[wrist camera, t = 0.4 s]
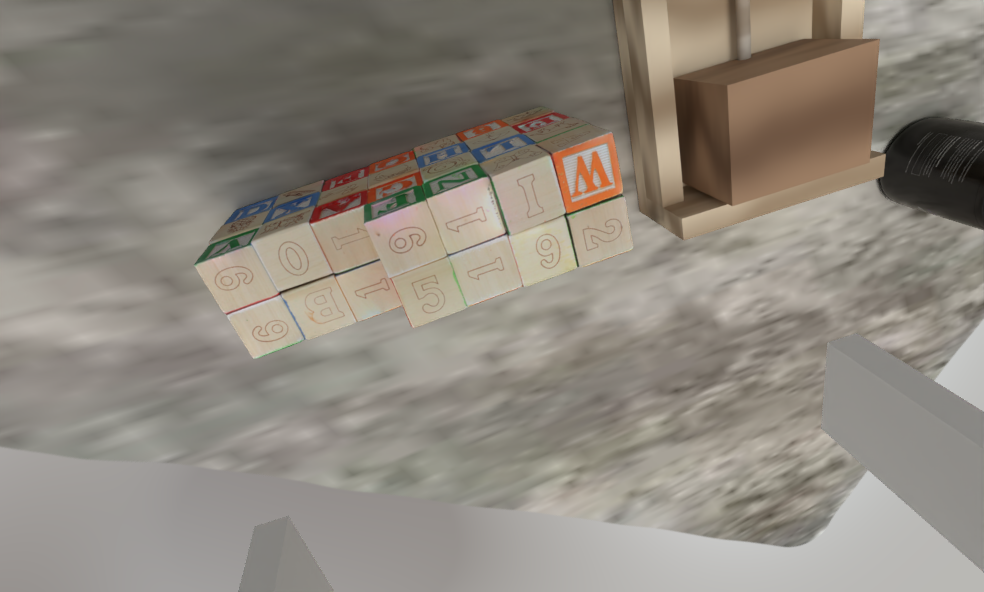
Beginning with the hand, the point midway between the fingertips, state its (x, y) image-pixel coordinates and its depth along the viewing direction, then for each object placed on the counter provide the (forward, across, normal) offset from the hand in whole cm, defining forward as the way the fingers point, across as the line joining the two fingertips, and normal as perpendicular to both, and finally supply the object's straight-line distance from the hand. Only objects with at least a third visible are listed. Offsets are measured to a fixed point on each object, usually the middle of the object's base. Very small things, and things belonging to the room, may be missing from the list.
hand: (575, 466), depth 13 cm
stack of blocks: (+27, -3, 0) cm, 27 cm away
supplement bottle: (+27, +36, -8) cm, 46 cm away
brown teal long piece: (+25, +20, +8) cm, 33 cm away
